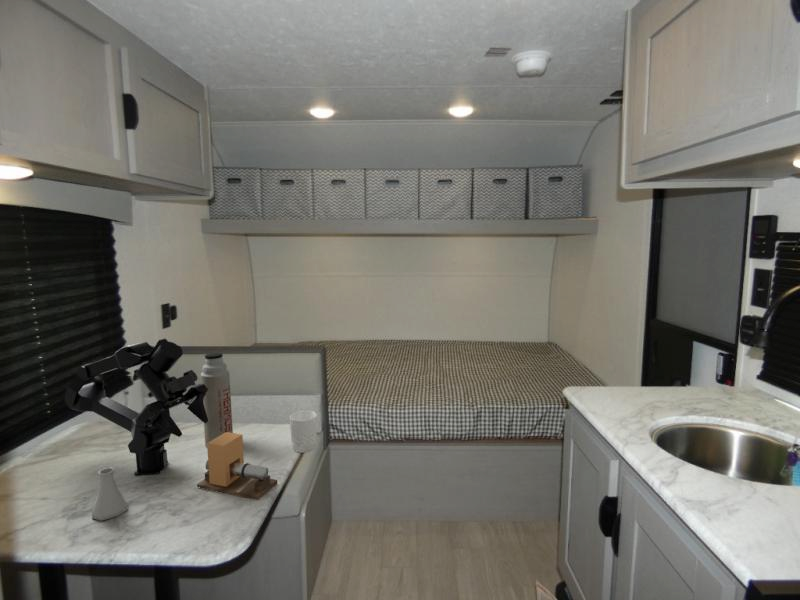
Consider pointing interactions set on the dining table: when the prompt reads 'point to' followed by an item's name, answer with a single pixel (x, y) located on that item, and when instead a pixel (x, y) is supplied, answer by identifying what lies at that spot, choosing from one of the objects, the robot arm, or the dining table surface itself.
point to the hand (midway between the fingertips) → (194, 428)
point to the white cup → (303, 431)
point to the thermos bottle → (216, 397)
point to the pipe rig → (243, 481)
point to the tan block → (224, 457)
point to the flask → (108, 497)
